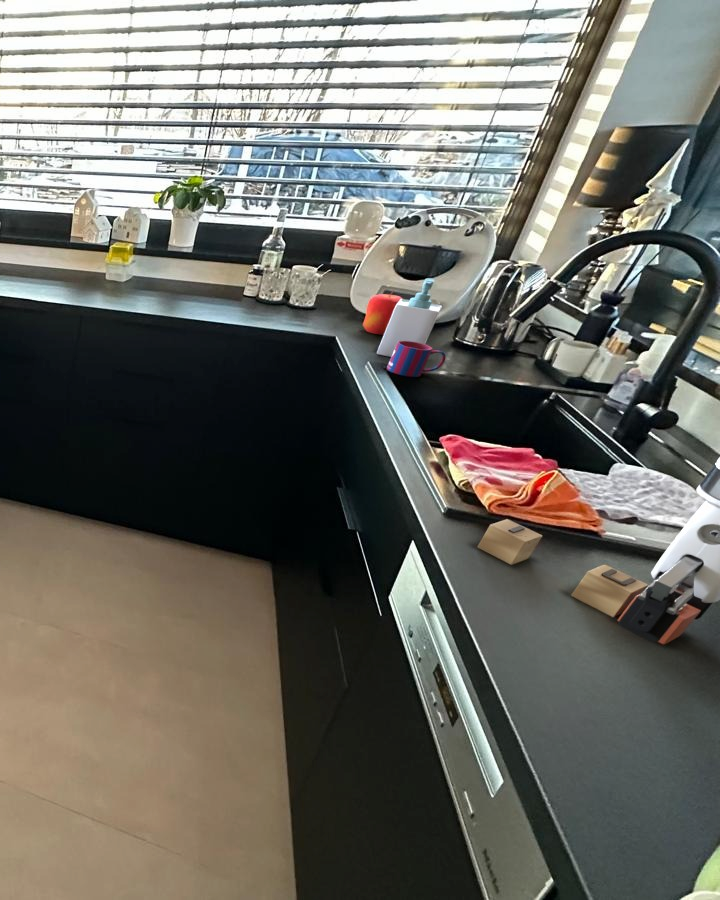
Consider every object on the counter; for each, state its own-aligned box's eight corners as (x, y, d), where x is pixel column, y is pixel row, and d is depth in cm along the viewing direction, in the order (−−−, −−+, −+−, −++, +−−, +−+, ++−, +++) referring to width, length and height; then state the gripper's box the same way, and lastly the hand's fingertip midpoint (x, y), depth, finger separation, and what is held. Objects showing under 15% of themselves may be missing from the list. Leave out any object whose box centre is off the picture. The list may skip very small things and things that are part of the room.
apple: (387, 330, 180) (404, 289, 174) (398, 338, 173) (416, 296, 167) (354, 326, 182) (369, 285, 176) (363, 334, 175) (380, 292, 169)
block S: (615, 622, 72) (636, 594, 70) (632, 613, 73) (653, 586, 71) (662, 646, 69) (685, 618, 67) (679, 637, 70) (702, 608, 68)
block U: (569, 597, 76) (588, 570, 74) (586, 589, 77) (605, 562, 75) (611, 619, 72) (632, 591, 70) (628, 610, 74) (649, 583, 72)
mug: (384, 365, 151) (396, 338, 148) (434, 374, 147) (447, 347, 144) (387, 374, 146) (399, 346, 142) (439, 383, 142) (452, 354, 138)
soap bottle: (375, 354, 159) (406, 278, 150) (381, 346, 165) (410, 273, 156) (416, 362, 154) (450, 285, 145) (420, 354, 160) (453, 280, 151)
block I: (475, 549, 84) (490, 523, 82) (493, 543, 85) (508, 517, 83) (510, 566, 81) (526, 540, 79) (527, 560, 82) (543, 534, 80)
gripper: (780, 531, 56) (666, 667, 64) (851, 496, 62) (739, 624, 70) (667, 490, 62) (576, 619, 70) (742, 462, 69) (651, 583, 77)
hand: (658, 621), depth 70 cm, fingers open, 9 cm apart
